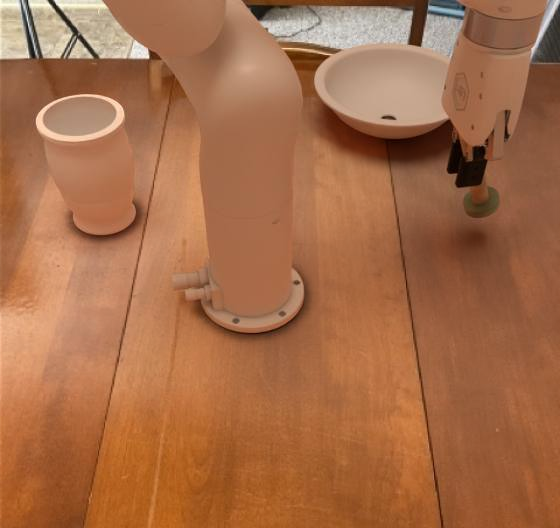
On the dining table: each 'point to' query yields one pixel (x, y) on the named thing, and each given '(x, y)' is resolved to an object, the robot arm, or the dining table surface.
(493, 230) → the dining table surface
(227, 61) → the robot arm
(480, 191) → the stamp with round base
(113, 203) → the jar
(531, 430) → the dining table surface
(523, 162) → the dining table surface
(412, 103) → the beige sink basin
